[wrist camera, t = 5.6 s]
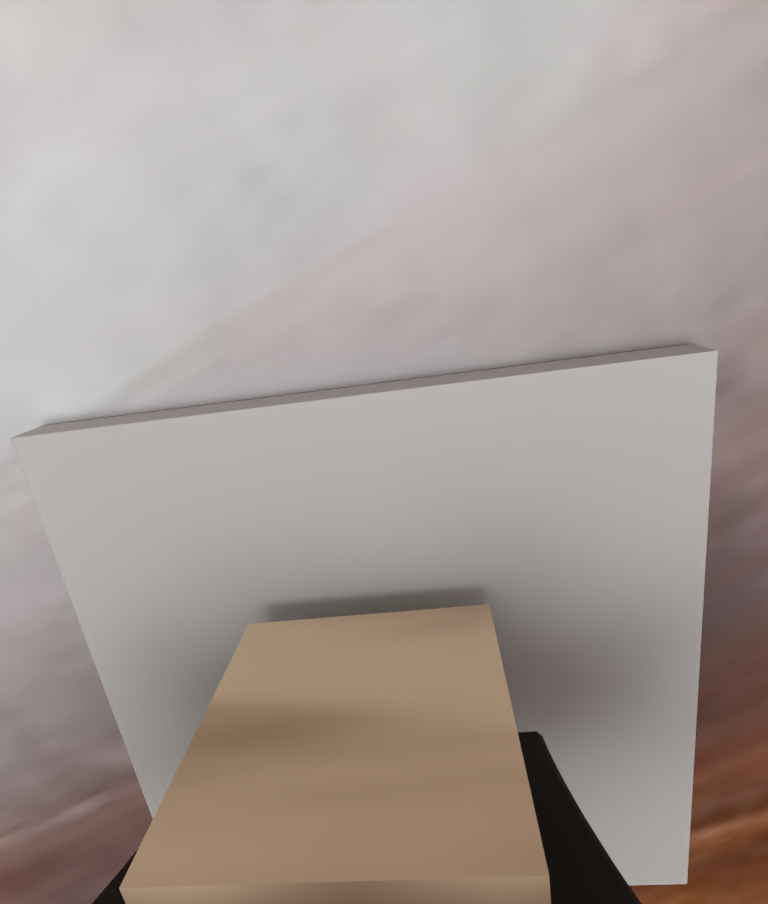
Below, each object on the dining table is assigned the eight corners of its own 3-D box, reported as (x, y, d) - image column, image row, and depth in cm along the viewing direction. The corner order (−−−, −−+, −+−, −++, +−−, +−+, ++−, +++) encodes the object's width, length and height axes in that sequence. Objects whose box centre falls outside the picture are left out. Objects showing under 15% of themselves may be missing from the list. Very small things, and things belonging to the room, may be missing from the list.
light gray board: (669, 844, 15) (687, 884, 14) (195, 860, 16) (181, 896, 15) (690, 344, 10) (718, 350, 9) (42, 425, 12) (10, 438, 11)
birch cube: (506, 790, 12) (564, 1127, 7) (293, 800, 12) (218, 1121, 8) (489, 604, 10) (549, 875, 6) (248, 623, 11) (119, 887, 6)
